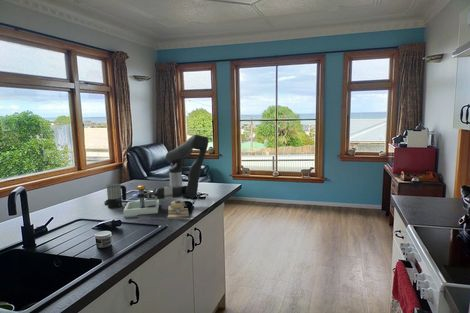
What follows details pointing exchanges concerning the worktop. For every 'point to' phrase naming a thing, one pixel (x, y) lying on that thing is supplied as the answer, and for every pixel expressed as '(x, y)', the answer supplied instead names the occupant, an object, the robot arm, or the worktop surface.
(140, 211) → the tray
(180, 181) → the robot arm
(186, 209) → the pulley board
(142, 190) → the lock pin
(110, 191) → the milk frother
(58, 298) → the worktop surface
